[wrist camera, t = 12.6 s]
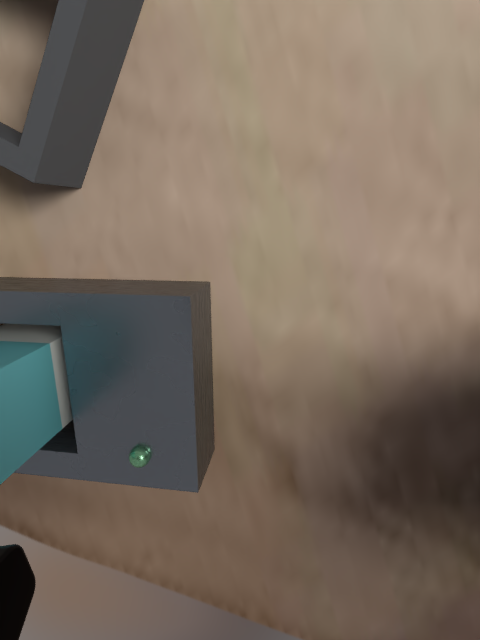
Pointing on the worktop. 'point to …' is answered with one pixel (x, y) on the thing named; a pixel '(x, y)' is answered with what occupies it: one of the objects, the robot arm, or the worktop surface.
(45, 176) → the holster
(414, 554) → the worktop surface
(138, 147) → the worktop surface
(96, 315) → the port
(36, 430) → the plug
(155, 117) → the worktop surface
